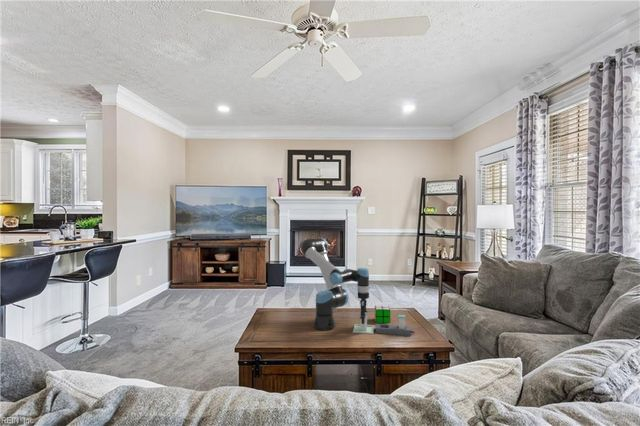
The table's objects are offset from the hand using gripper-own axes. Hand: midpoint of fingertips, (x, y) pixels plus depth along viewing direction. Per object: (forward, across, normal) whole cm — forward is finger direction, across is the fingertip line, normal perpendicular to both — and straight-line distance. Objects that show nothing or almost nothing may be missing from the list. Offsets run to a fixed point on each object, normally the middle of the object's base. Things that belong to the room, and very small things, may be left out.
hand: (363, 325), depth 199 cm
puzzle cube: (+4, +20, -12) cm, 24 cm away
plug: (+3, 0, 0) cm, 3 cm away
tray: (+3, 0, 0) cm, 3 cm away
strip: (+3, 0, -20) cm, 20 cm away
